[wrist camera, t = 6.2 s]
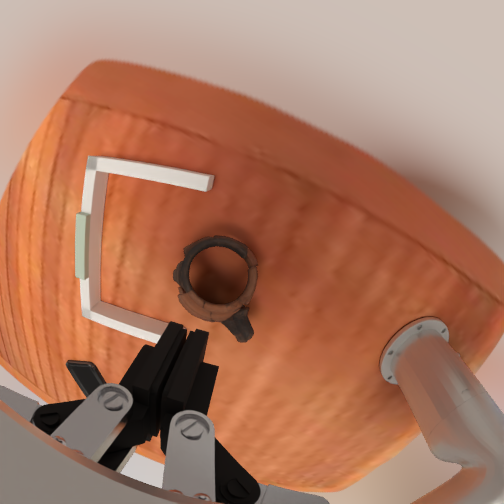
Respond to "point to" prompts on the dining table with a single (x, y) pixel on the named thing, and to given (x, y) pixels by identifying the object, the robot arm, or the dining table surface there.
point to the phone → (85, 375)
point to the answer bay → (91, 237)
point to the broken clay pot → (227, 313)
